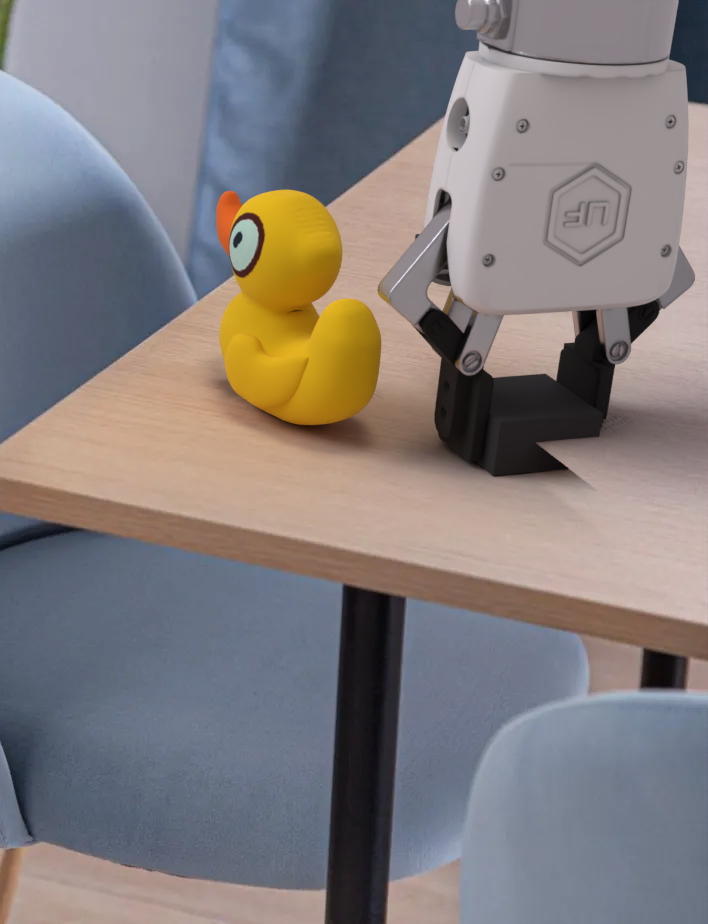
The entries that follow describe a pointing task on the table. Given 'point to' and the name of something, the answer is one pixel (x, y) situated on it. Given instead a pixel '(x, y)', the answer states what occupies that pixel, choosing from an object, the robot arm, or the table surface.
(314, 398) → the duckling
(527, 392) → the top pad
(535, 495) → the table surface
